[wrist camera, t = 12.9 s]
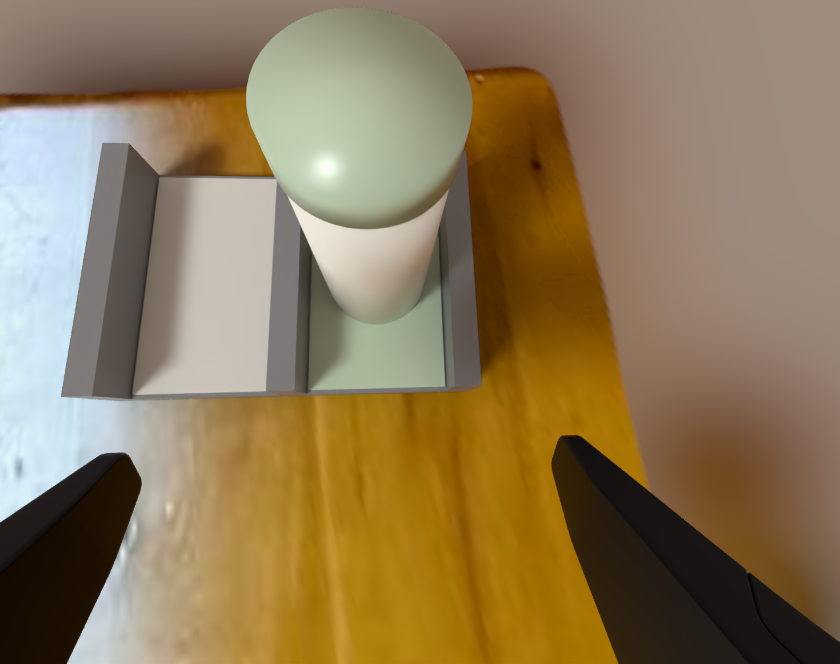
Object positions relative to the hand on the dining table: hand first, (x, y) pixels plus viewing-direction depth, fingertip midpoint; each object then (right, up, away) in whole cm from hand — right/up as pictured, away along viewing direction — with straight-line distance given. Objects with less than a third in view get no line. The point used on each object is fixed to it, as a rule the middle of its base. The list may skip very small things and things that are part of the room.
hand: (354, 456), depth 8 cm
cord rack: (-5, +5, +13) cm, 15 cm away
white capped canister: (-1, +5, +12) cm, 14 cm away
